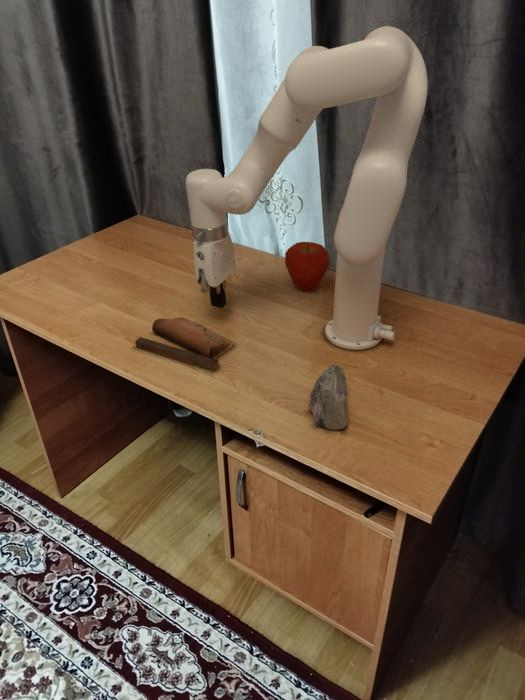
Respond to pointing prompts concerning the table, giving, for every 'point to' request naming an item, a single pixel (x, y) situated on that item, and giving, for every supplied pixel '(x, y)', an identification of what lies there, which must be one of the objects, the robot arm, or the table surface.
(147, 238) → the table surface
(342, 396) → the mineral rock
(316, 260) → the apple
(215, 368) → the rail
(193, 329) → the sunglasses case
